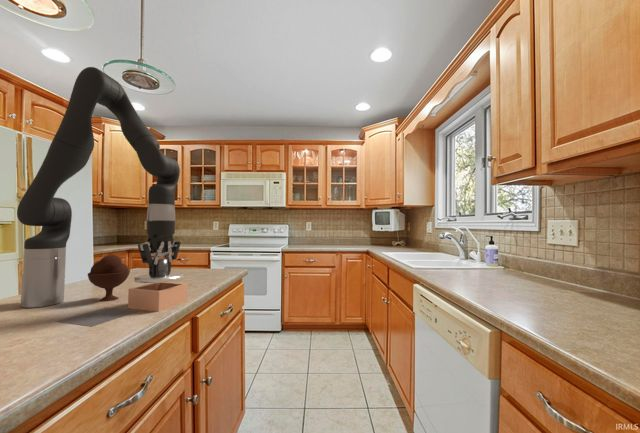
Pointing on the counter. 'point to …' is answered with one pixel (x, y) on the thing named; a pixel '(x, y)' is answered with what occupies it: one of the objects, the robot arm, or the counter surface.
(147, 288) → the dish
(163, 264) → the lid
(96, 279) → the ice cream bowl
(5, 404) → the counter surface
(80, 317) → the mat
